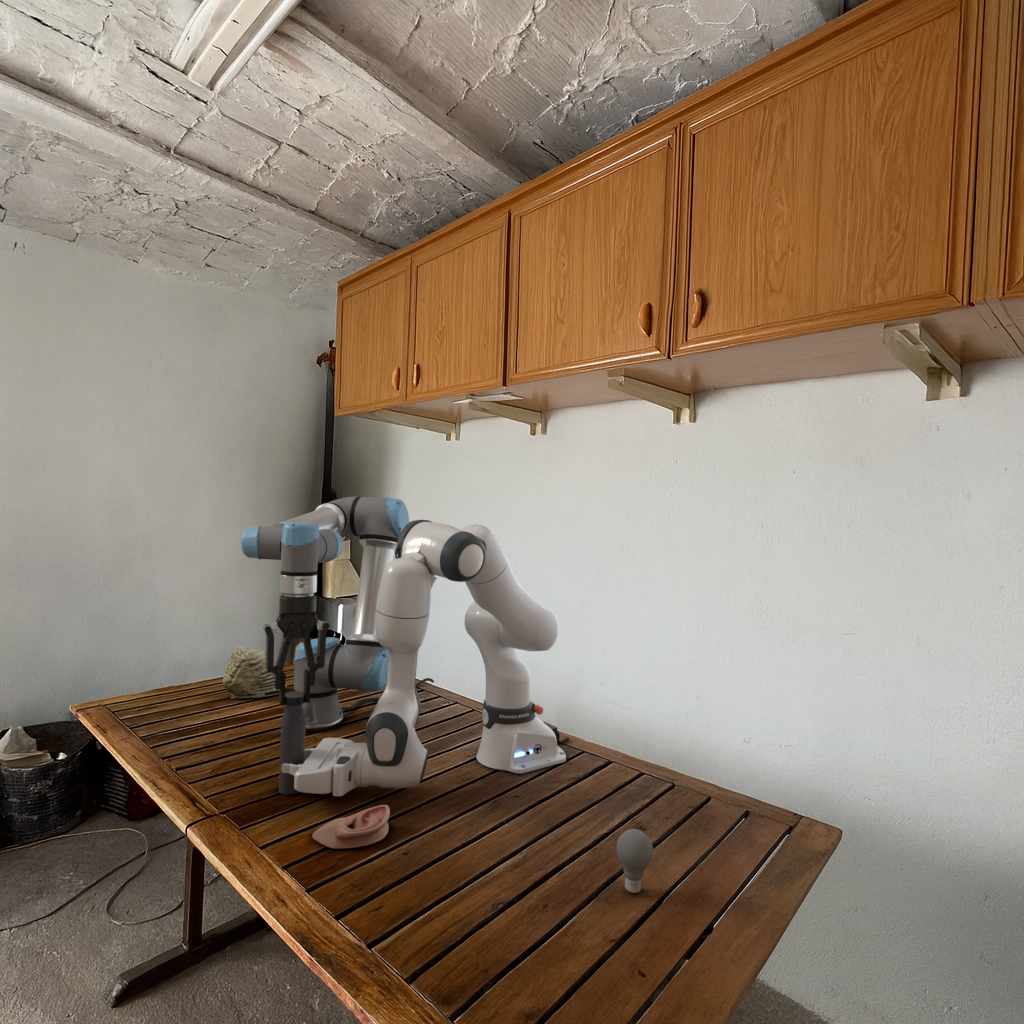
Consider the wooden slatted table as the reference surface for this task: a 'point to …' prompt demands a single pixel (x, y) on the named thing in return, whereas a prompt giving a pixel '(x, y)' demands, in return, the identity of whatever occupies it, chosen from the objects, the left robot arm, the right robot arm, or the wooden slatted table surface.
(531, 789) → the wooden slatted table surface
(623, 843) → the light bulb
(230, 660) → the fossil
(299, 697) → the cap
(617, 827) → the wooden slatted table surface
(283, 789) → the bottle
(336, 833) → the anatomical model
